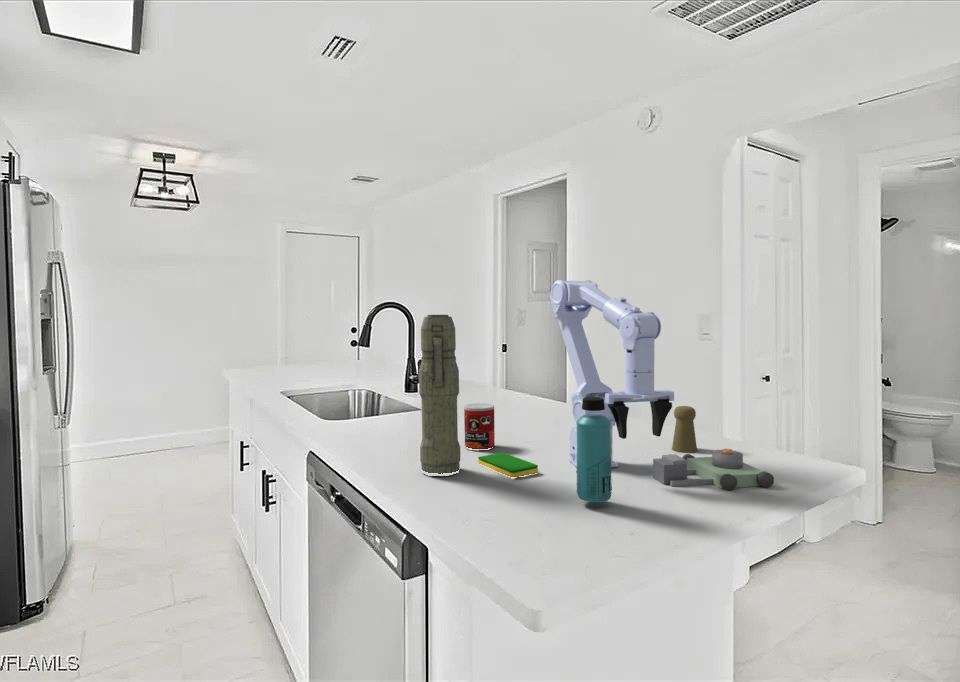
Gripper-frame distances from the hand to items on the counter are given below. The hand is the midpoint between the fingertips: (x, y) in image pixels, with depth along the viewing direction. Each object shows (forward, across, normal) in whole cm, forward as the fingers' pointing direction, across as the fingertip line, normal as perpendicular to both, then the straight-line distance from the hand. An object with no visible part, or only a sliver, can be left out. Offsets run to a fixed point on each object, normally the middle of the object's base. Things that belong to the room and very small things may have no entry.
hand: (639, 436), depth 123 cm
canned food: (+10, -26, +37) cm, 46 cm away
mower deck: (+9, +15, -1) cm, 17 cm away
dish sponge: (+10, -24, +16) cm, 31 cm away
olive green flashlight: (+10, -39, +17) cm, 44 cm away
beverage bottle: (+10, -15, -11) cm, 21 cm away
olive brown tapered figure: (+10, +23, +21) cm, 33 cm away
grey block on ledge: (+10, +6, -1) cm, 11 cm away
